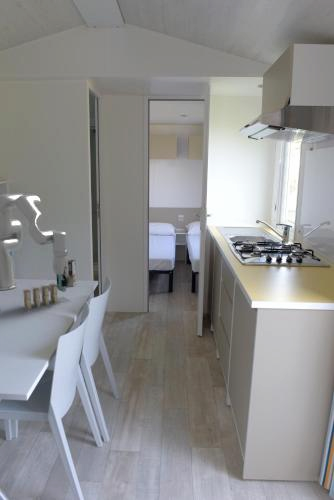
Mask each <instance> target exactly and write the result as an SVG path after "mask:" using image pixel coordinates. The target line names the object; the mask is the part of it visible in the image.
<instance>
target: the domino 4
mask: <svg viewBox="0 0 334 500" xmlns="http://www.w3.org/2000/svg"><path fill="white" fill-rule="evenodd" d="M49 292H50V293H49V296H50V300H51V301H52V302H53V303H58V298H59V297H58V284H55V283H52V282H51V283H50V284H49Z"/></svg>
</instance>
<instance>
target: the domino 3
mask: <svg viewBox="0 0 334 500" xmlns="http://www.w3.org/2000/svg"><path fill="white" fill-rule="evenodd" d="M49 292H50V289H49V286H47V285H45V284H43V285H41V302H42V303H43V304H45V305H49V300H50V293H49Z"/></svg>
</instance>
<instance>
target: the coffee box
mask: <svg viewBox="0 0 334 500" xmlns="http://www.w3.org/2000/svg"><path fill="white" fill-rule="evenodd" d="M67 260H68V275H69V276H68V277H67V286H66V287H75V285H77V273H76V272H77V270H76V266H77V265H76V259H67ZM63 274H65V273H63Z"/></svg>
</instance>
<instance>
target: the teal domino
mask: <svg viewBox="0 0 334 500" xmlns="http://www.w3.org/2000/svg"><path fill="white" fill-rule="evenodd" d="M64 276H65V275H63V277H64ZM61 280H62V277H61V275H59V274H58V282H59V284H58V291H61V292H62V293H64V292H66V291H67V290H66V289H67V286H64V287H62V284H61Z"/></svg>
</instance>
